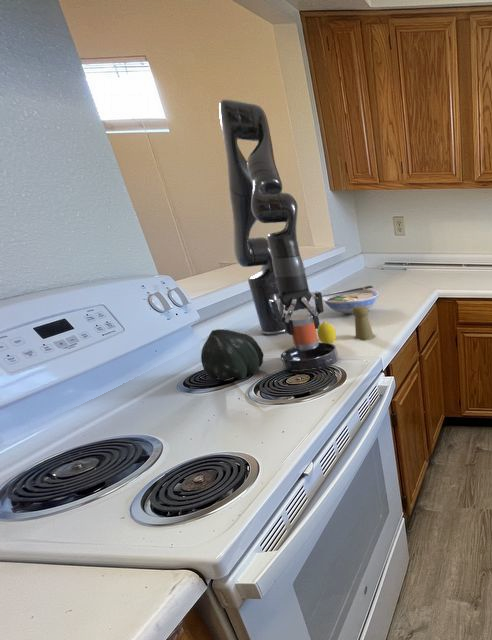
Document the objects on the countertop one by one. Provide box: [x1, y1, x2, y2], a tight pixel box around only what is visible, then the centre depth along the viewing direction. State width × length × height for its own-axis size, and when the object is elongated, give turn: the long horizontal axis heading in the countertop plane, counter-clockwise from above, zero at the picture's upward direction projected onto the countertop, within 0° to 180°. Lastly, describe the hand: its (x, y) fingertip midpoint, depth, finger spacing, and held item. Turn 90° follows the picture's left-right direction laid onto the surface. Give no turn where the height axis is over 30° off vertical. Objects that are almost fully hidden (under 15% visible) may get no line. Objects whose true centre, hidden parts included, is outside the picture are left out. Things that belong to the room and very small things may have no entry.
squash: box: [200, 328, 264, 382], centre depth 115 cm, size 14×15×15 cm
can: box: [289, 313, 320, 350], centre depth 120 cm, size 6×6×9 cm
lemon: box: [316, 321, 337, 344], centre depth 137 cm, size 6×6×8 cm
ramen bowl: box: [322, 285, 380, 315], centre depth 175 cm, size 25×23×8 cm
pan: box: [280, 342, 339, 373], centre depth 123 cm, size 15×15×4 cm
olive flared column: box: [352, 306, 375, 341], centre depth 143 cm, size 6×6×11 cm
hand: (303, 331), depth 120 cm, fingers closed on can, 6 cm apart
